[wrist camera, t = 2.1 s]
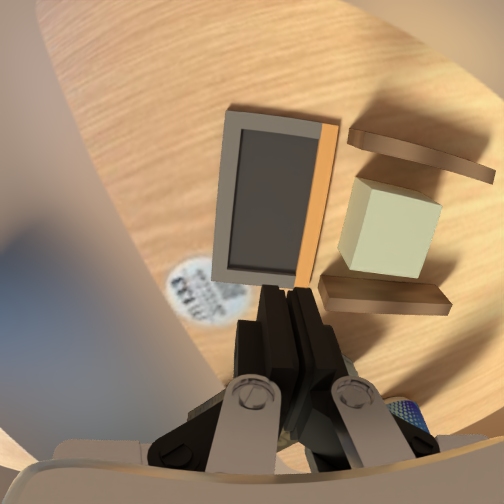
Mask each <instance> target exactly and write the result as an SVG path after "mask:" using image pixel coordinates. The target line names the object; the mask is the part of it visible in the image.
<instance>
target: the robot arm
mask: <svg viewBox="0 0 504 504" xmlns="http://www.w3.org/2000/svg"><path fill="white" fill-rule="evenodd" d="M283 428H284V431H289V432H290V440H298V442H300V443H301V444H303V445H304V446H305V455H306V458H307V461H308V464H309V467H310V470H311V473H307V474H283V475H274V471H275V461H276V451H277V442H278V440H279V437H280V434H281V431H282V429H283ZM2 504H504V436H500V437H495V438H491V439H489V438H488V437H486V436H484V435H480V434H478V435H477V434H475V435H437V436H436V437H435V438H434V437H433V436H432V435H430V434H429V433H428V432H426V431H424V430H422V429H420V428H418V427H416V426H415V425H413V424H411V423H409V422H407V421H405V420H404V419H402V418H400V417H398V416H396V415H395V414H393V413H391V412H390V411H389V409H388V408H387V406H386V404H385V402H384V401H383V399H382V397H381V396H380V394H379V392H378V390H377V389H376V388H375V386H374V385H373V384H372V383H370V382H369V381H368V380H365V379H363V378H361V377H356V376H349V374H348V371H347V368H346V365H345V362H344V359H343V356H342V353H341V351H340V348H339V345H338V342H337V339H336V336H335V334H334V331H333V328H332V327H331V326H330V325H323V323H322V320H321V317H320V314H319V311H318V308H317V305H316V302H315V299H314V296H313V293H312V290H311V288H305V287H294V289H293V291H290V290H289V291H288V292H287V297H286V296H285V291H284V290H279V286H278V285H267V284H262V287H261V293H260V300H259V306H258V313H257V320H256V321H249V320H238V322H237V330H236V339H235V352H234V379H233V380H232V381H231V382H230V383H229V384H228V386H227V388H226V392H225V396H224V399H223V400H222V401H220V402H219V403H217V404H215V405H214V406H212V407H211V408H209V409H207V410H206V411H204V412H203V413H201V414H199V415H198V416H196V417H194V418H193V419H191V420H189V421H188V422H186V423H184V424H183V425H181V426H179V427H178V428H176V429H174V430H172V431H171V432H169V433H167V434H165V435H164V436H162V437H160V438H158V439H157V440H156V441H155V442H153V443H145V444H140V442H139V441H111V440H84V439H70V440H66V441H64V442H62V443H60V444H59V445H58V446H57V447H56V448H55V451H54V454H53V459H51V460H46V461H41V462H37V463H34V464H31V465H29V466H28V467H26V468H25V469H23V470H22V471H21V472H20V473H19V474H18V475H17V477H16V478H15V479H14V481H13V482H12V484H11V486H10V487H9V489H8V491H7V493H6V495H5V497H4V499H3V501H2Z"/></svg>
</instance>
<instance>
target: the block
mask: <svg viewBox="0 0 504 504" xmlns="http://www.w3.org/2000/svg"><path fill="white" fill-rule="evenodd" d="M441 209H442V205H440V204H439V203H437V202H435V201H434V200H432V199H431V198H429V197H427V196H426V195H424V194H422V193H421V192H418V191H414V190H410V189H406V188H402V187H398V186H394V185H390V184H386V183H381V182H377V181H373V180H368V179H364V178H359V177H355V178H354V183H353V187H352V192H351V196H350V200H349V204H348V208H347V212H346V216H345V220H344V224H343V228H342V232H341V236H340V240H339V244H338V247H337V248H338V250H339V252H340V253H341V255H342V257H343V259H344V260H345V262H346V264H347V266H348V268H349V269H350V270H356V271H363V272H371V273H379V274H387V275H395V276H403V277H411V278H418V277H419V274H420V272H421V269H422V266H423V263H424V261H425V258H426V255H427V252H428V250H429V247H430V244H431V241H432V238H433V235H434V232H435V229H436V225H437V222H438V219H439V216H440V212H441Z"/></svg>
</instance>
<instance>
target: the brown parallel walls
mask: <svg viewBox="0 0 504 504" xmlns="http://www.w3.org/2000/svg"><path fill="white" fill-rule="evenodd" d="M347 144H349V145H352V146H354V147H357V148H359V149H361V150H365V151H370V152H375V153H380V154H384V155H389V156H393V157H397V158H401V159H405V160H410V161H414V162H418V163H421V164H425V165H429V166H433V167H436V168H440V169H444V170H447V171H451V172H454V173H457V174H461V175H464V176H467V177H470V178H474V179H477V180H480V181H483V182H486V183H489V184H492V185H493V181H494V177H495V172H496V170H493V169H491V168H488V167H486V166H483V165H480V164H478V163H475V162H472V161H469V160H466V159H463V158H460V157H457V156H454V155H451V154H448V153H445V152H441V151H438V150H435V149H431V148H428V147H424V146H421V145H417V144H414V143H410V142H406V141H403V140H399V139H395V138H391V137H387V136H382V135H378V134H374V133H370V132H365V131H360V130H356V129H351V128H349V134H348V141H347ZM318 290H319V293H320V296H321V299H322V302H323V305H324V307H325V310H326V311H338V312H356V313H376V314H402V315H440V316H448V314H449V311H450V309H451V307H452V305H453V304H452V303H451V302H450V301H449V300H448V298H447V297H446V296H445V295H444V294H443V293H442V291H441V290H440V289H439V288H438V287H437V286H436V285H432V284H419V283H406V282H394V281H382V280H370V279H359V278H347V277H336V276H325V275H321V276H320V280H319V284H318Z"/></svg>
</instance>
